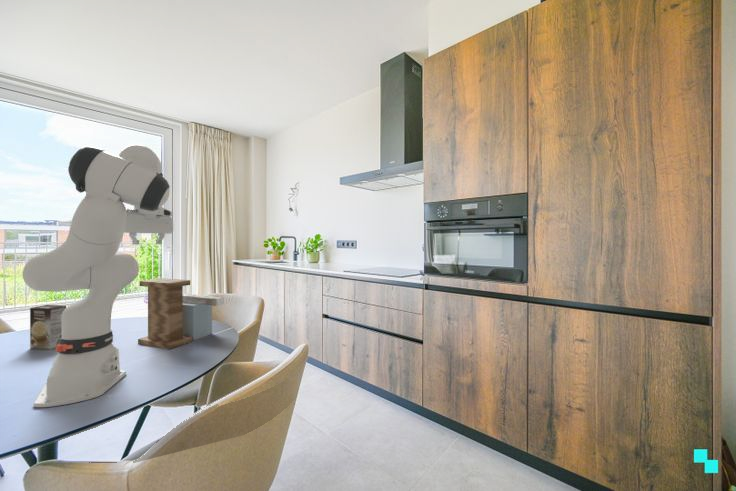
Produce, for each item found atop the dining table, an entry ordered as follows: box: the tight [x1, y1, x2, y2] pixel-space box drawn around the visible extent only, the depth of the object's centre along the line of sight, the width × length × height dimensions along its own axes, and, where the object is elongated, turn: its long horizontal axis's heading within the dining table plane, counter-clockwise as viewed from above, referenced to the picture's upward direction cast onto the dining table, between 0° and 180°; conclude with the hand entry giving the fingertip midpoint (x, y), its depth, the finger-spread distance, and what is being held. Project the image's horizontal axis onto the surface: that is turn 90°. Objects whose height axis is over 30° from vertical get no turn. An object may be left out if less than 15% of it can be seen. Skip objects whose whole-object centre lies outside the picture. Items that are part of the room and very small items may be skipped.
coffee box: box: [29, 304, 67, 350], centre depth 123 cm, size 9×6×16 cm
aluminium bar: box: [183, 293, 225, 307], centre depth 137 cm, size 24×4×3 cm, turn 70°
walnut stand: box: [137, 277, 193, 350], centre depth 128 cm, size 18×10×26 cm, turn 71°
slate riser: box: [183, 303, 213, 342], centre depth 138 cm, size 10×10×15 cm
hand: (147, 244), depth 126 cm, fingers open, 8 cm apart
